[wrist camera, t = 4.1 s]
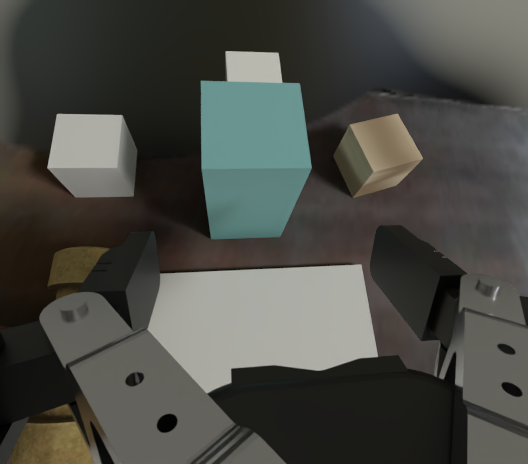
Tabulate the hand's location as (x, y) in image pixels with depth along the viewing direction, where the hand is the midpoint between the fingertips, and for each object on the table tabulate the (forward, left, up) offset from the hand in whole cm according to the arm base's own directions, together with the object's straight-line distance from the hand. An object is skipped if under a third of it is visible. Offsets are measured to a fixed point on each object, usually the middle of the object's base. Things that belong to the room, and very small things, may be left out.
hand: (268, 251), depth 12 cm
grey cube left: (-10, +10, -11) cm, 18 cm away
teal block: (0, +7, -11) cm, 13 cm away
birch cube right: (+10, +10, -11) cm, 18 cm away
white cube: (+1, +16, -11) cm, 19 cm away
